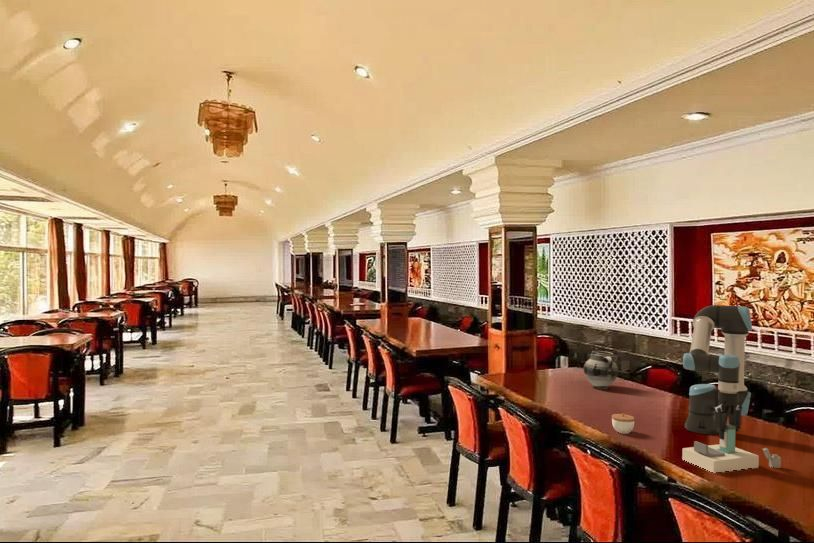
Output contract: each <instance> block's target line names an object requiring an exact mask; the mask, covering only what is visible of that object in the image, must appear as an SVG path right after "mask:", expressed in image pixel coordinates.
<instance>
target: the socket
mask: <svg viewBox="0 0 814 543" xmlns="http://www.w3.org/2000/svg"><path fill="white" fill-rule="evenodd" d="M707 445H708V444H707ZM708 447H710V448H712V449H715V450H718V451H720V443H719V444H711V445H710V444H709V445H708ZM720 452H721V451H720ZM723 453H724V452H723ZM681 455H682V456H681V458H682V461H684V460H685V461H684V462H686V461H687V462H686V463H688V462H689V464H691V463H692V464H691V465H693V464H694V465H693V466H695V465H697V466H699V467H698V468H700V467H701V468H700V469H702V468H704V469H706V470H705V471H707V470H708V471H707V472H709V471H710V472H709V473H711V472H713V473H714V474H717V473H716V472H722V473H726V472H725V471H729V472H734V471H733V470H737V471H742V470H741V469H745V470H749V469H748V468H752V469H759V462H760V461H759V460H760V459H759V457H760V456H759V455H758V454H755V453H752V452H749V451H747V450H744V449H742V448H738V447H737V446H735V453H733V454H726V453H725V455H723V456H715V457H709V456H706V455H704V454H701V453H699V452H696V451H694V446H690V447H683V448H682V454H681ZM697 466H696V467H697ZM704 469H703V470H704ZM713 473H712V474H713Z"/></svg>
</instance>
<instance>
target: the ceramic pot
mask: <svg viewBox="0 0 814 543" xmlns="http://www.w3.org/2000/svg"><path fill="white" fill-rule="evenodd" d="M619 372H620V369H619V366H618V365H617V364H616V362H615V355H614V353H613V352H609V351H606V350H605V351H602V350H592V351H591V353H590V356H589V359H588V360H587V361H585V363H584V364H583V374H584V376H585V378H586V380H587V381H588V382H589V383H591V385H592V388H593V389H597V390H608V389H609V386H610V385H612V384H613V383H614V382H615V381H616V379H617V378H618V376H619Z"/></svg>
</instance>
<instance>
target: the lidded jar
mask: <svg viewBox="0 0 814 543" xmlns="http://www.w3.org/2000/svg"><path fill="white" fill-rule="evenodd" d="M635 421H636V420H635V417H634V416H633V415H629V414H625V413H614V414H612V415H611V424H612V427H613V429H614V431H617V432H616V433H618V432H619V433H618V434H623V435H625V434H626V435H628V434H630V433H631V432H632V431H633V429H634V428H635Z"/></svg>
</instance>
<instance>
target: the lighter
mask: <svg viewBox="0 0 814 543" xmlns="http://www.w3.org/2000/svg"><path fill="white" fill-rule="evenodd" d="M762 451H763V454H764V456H765V458H766V459H767V460H768V467H769V466H770V467H769V468H771V467H772V468H771V469H781V466H782V457H781V456H779V454H776V453H773V454H771V453H770V450H769V448H767V447H764V448H762ZM773 467H774V468H773Z"/></svg>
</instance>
